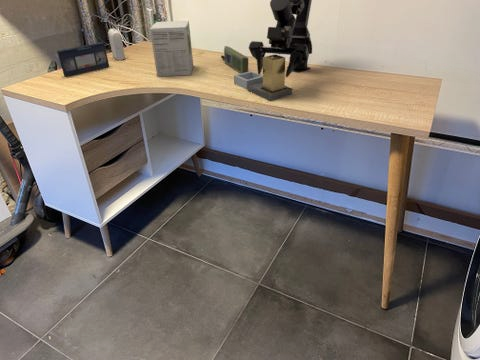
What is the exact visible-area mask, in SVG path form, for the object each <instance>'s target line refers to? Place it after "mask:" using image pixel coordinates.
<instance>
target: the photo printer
mask: <svg viewBox="0 0 480 360" xmlns="http://www.w3.org/2000/svg"><path fill="white" fill-rule="evenodd" d="M107 34H108V35H107V36H108V40H109V43H110V47H111V48H110V49H111V54H112V56H113V58H114V59H116V61H124V60H125V59H126V53H125V49H124V45H123V39H122V35H121V33H120V31H118V29H116V28H109V30H108V32H107ZM123 59H124V60H123Z"/></svg>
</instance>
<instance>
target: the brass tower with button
mask: <svg viewBox="0 0 480 360" xmlns="http://www.w3.org/2000/svg"><path fill="white" fill-rule="evenodd" d="M262 75H263V90H265V91H268V92H270V93H275V92H278V91H282V90H284V88H285V86H286V84H285V83H286V81H285V80H286V57H285V56H282V55H280V54H270V55H267V56H266V55H265V56H264V57H263V67H262Z"/></svg>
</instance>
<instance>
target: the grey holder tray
mask: <svg viewBox="0 0 480 360" xmlns="http://www.w3.org/2000/svg"><path fill="white" fill-rule="evenodd" d="M247 92H249V93H251V92H252V93H251V94H253V93H254V94H253V95H255V94H256V95H255V96H258V97H260V98H261V99H265V100H266V99H267V100H266V101H268V102H271V101H275V100H278V99H282V98H285V97H289V96H292V95H293V88H292V87H289V86H287V85H285V88H284V90H282V91H278V92H275V93H270V92H268V91H265V90H263V82H259V83H255V84H251V85H248V89H247Z"/></svg>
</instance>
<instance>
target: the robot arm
mask: <svg viewBox="0 0 480 360" xmlns="http://www.w3.org/2000/svg"><path fill="white" fill-rule="evenodd" d="M312 1H313V0H270V1H269V5H270V9H271V13H272V14H273V17H274V20H275V21H277V22H276V25H275V26H269V27H267V34H266V35H267V36H266V39H268V44H269V45H270V46H267V45H264V42H263V41H258V40H257V41H256V40H255V41H254V40H252V41H251V42H249V45H248V50H249V52H250V54H251V56H252V57H253V58H254V59H255V60H256V66H257V67H256V68H257V73H258V74H259V75H260V74H261V73H262V71H263V57H266V54H273V55H275V54H276V55H289V56H290V57H289V62H288V65H287V68H286V70H285V78H288V77H289V76H290V75H291V74H292V72H293V71H294V72H297V73H300V72H304V71H306V70H310V69H311V67H310V66H308V61H309V58H310V57H309V56H310V55H312V54H313V44H312V39H311V34H310V30H309V29H308V26H309V25H308V24H309V18H310V14H311V13H310V12H311V8H312V7H311V6H312Z"/></svg>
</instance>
